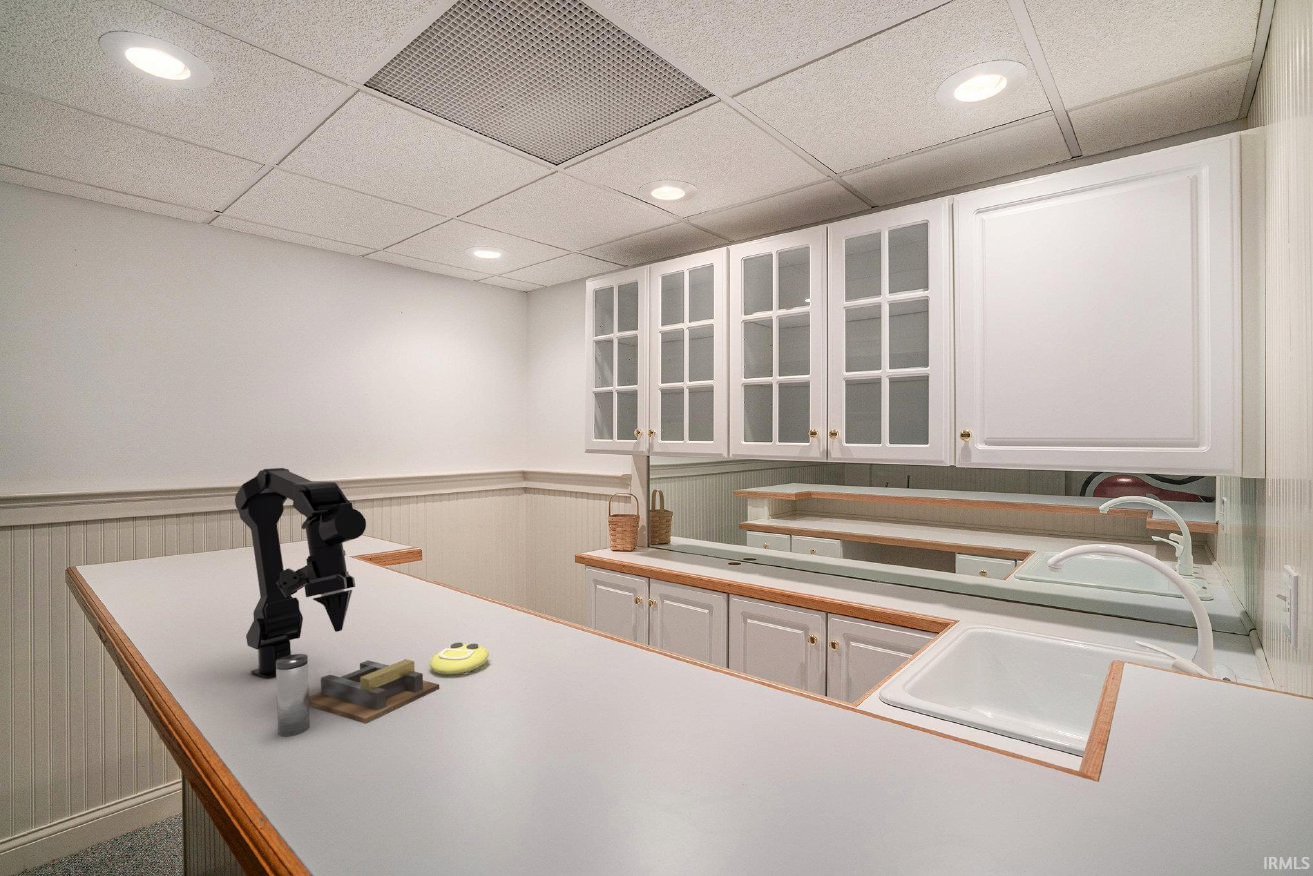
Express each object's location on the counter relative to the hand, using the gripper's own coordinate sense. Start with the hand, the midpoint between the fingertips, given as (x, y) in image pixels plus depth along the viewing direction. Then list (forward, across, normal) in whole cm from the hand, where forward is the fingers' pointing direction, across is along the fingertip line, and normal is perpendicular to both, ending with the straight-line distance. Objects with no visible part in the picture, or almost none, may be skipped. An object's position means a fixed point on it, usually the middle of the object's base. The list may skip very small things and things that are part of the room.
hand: (338, 631), depth 116 cm
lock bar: (+11, +2, +7) cm, 13 cm away
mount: (+13, -3, +4) cm, 14 cm away
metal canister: (+14, +7, -8) cm, 17 cm away
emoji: (+14, -11, +20) cm, 27 cm away
